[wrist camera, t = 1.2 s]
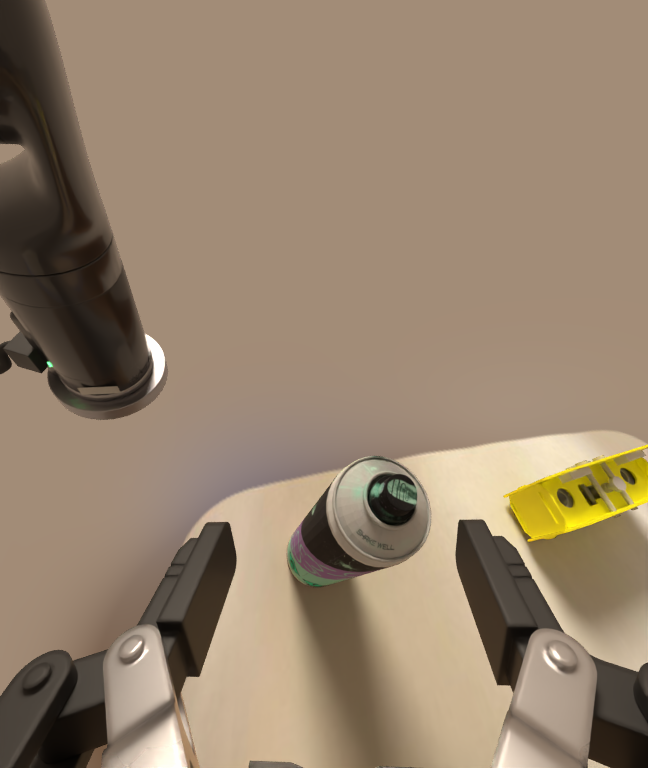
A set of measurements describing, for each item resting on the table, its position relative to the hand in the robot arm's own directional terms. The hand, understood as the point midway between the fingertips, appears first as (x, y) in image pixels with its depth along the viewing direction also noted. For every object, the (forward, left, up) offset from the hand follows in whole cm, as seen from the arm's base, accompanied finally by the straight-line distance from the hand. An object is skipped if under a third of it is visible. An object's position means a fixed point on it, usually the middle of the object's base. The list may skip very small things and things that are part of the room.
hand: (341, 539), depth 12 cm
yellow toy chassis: (+30, +16, -22) cm, 40 cm away
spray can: (+3, +3, -22) cm, 23 cm away
